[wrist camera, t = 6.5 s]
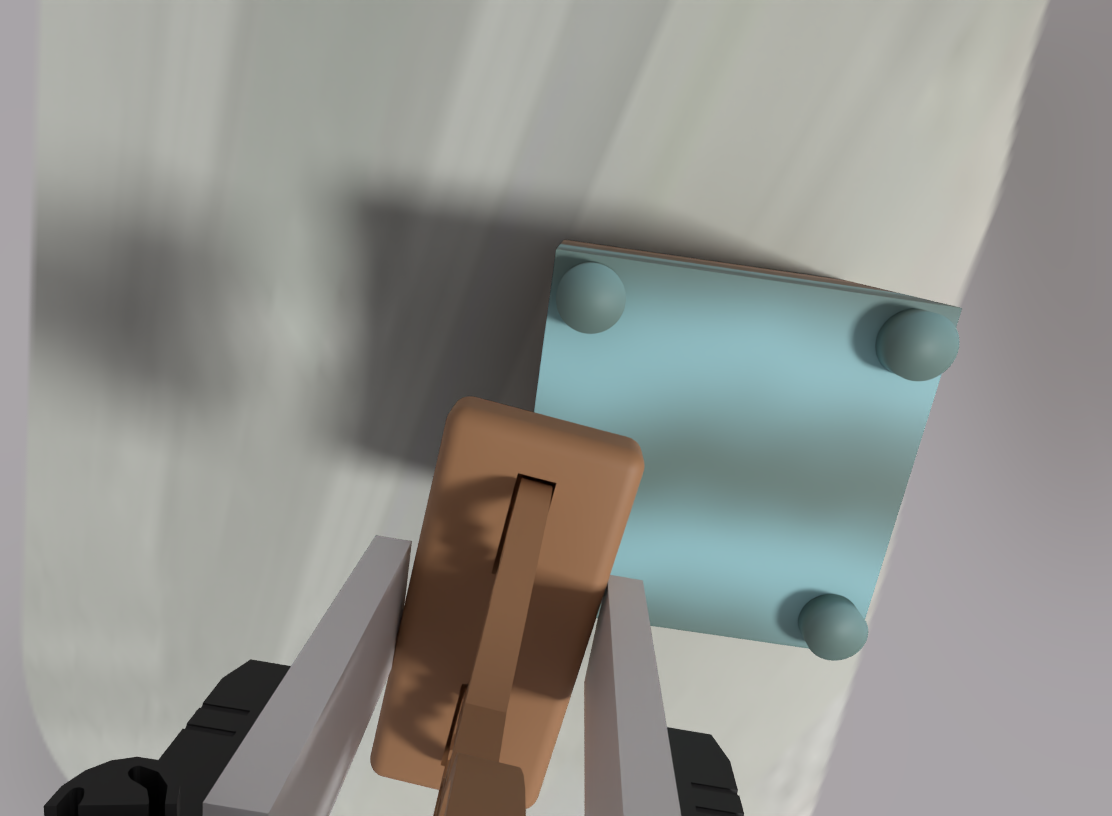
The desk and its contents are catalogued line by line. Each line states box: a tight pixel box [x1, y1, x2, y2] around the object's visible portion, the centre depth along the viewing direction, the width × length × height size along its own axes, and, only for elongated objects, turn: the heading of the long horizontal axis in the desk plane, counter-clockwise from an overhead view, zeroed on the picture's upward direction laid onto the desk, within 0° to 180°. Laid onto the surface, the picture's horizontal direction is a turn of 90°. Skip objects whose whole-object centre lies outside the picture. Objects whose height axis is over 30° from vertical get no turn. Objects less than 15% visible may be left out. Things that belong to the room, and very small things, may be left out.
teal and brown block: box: [534, 240, 962, 660], centre depth 25 cm, size 12×12×10 cm
